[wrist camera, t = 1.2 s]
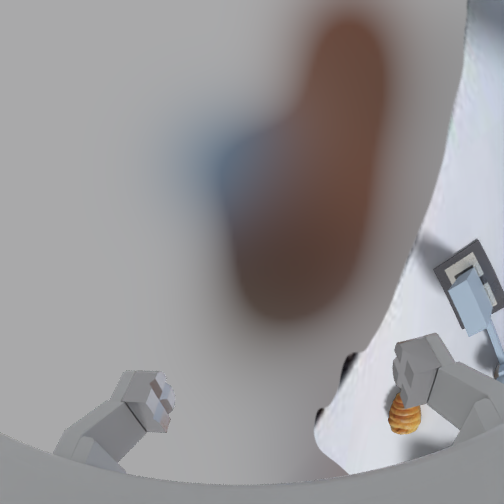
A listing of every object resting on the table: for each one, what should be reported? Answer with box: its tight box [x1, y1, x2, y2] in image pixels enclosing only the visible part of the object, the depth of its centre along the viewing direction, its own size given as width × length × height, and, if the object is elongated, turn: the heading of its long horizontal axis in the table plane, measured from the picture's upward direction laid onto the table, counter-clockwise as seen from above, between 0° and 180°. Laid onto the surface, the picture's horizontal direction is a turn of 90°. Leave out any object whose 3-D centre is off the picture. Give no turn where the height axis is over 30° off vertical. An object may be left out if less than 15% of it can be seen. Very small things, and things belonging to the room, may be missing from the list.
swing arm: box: [448, 267, 504, 384], centre depth 31 cm, size 21×4×8 cm, turn 41°
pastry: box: [388, 393, 421, 434], centre depth 46 cm, size 9×7×4 cm
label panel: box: [434, 240, 504, 329], centre depth 37 cm, size 9×11×1 cm
